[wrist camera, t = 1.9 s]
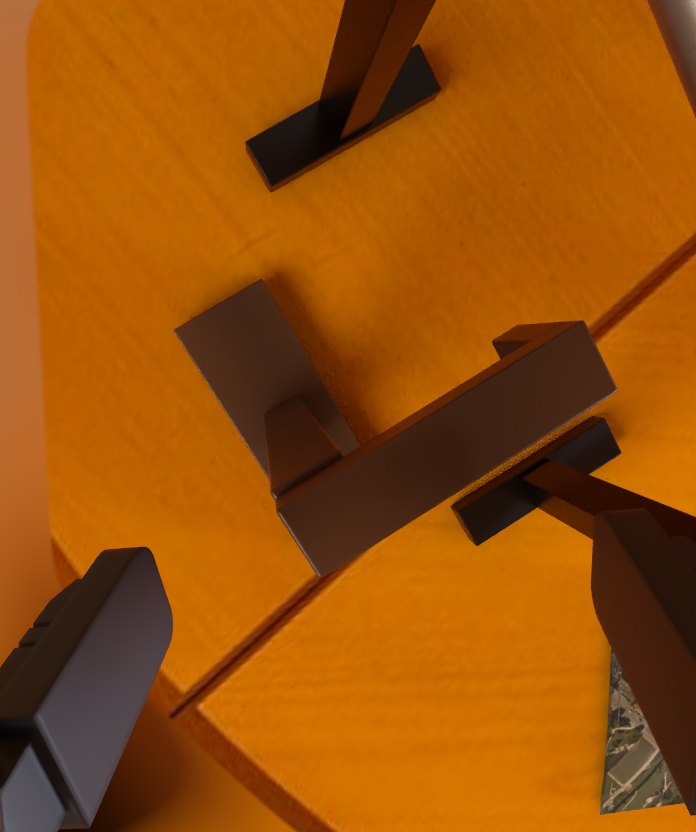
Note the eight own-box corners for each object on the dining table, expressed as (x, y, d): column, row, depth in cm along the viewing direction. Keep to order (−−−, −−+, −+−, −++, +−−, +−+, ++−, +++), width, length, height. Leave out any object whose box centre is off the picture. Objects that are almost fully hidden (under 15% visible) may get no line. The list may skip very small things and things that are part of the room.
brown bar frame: (317, 549, 32) (391, 803, 14) (177, 330, 29) (56, 310, 12) (466, 455, 33) (714, 586, 15) (343, 233, 30) (466, 75, 12)
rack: (245, 149, 29) (198, -596, 6) (412, 54, 29) (944, -937, 7) (469, 539, 33) (928, 964, 10) (609, 449, 34) (1326, 664, 11)
